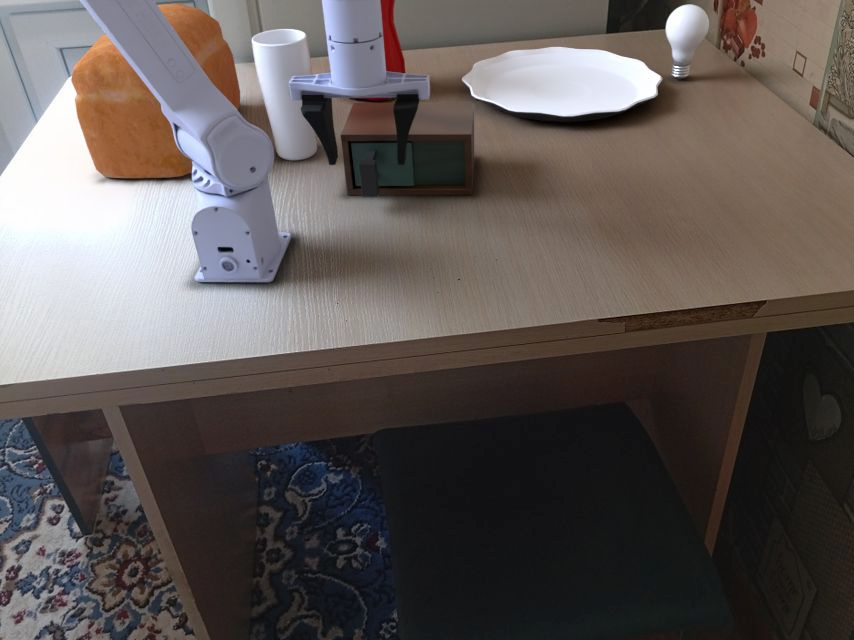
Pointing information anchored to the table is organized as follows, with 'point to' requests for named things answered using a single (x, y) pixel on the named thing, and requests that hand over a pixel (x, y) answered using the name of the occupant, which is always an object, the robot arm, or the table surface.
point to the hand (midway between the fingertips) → (367, 161)
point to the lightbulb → (685, 36)
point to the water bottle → (390, 43)
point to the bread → (144, 100)
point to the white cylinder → (284, 89)
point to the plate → (562, 83)
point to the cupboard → (418, 145)
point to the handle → (380, 166)
